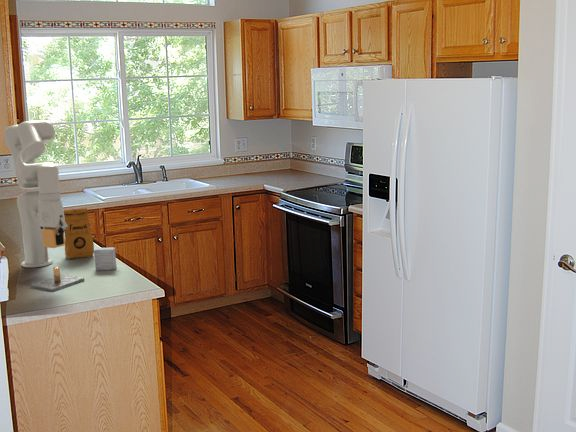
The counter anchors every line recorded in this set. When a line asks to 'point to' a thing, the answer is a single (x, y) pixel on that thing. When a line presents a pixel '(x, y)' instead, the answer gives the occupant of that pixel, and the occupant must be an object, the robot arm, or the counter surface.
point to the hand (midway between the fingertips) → (54, 243)
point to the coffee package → (78, 234)
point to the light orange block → (50, 238)
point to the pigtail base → (58, 285)
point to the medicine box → (105, 258)
